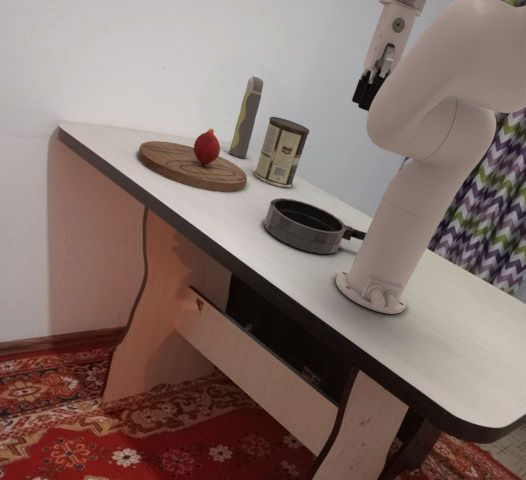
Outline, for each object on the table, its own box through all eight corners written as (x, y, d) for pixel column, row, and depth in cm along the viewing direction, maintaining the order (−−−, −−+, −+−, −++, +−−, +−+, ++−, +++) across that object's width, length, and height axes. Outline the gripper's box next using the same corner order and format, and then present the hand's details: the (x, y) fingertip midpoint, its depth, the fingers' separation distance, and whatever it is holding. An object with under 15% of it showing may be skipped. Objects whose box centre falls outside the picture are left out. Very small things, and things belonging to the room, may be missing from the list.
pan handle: (396, 255, 92) (401, 246, 91) (340, 237, 91) (344, 227, 90) (394, 251, 94) (398, 241, 93) (339, 233, 93) (343, 223, 92)
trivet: (117, 145, 105) (118, 136, 104) (204, 153, 122) (206, 146, 121) (178, 190, 92) (180, 180, 91) (265, 193, 109) (268, 185, 108)
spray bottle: (240, 153, 134) (260, 77, 123) (248, 159, 131) (269, 82, 120) (226, 151, 131) (245, 73, 120) (233, 157, 128) (253, 77, 117)
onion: (211, 171, 103) (219, 134, 99) (187, 162, 103) (194, 125, 99) (218, 167, 108) (226, 131, 103) (195, 158, 108) (202, 122, 103)
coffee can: (277, 174, 127) (293, 120, 120) (298, 189, 121) (317, 133, 113) (246, 170, 121) (262, 113, 113) (268, 185, 115) (286, 126, 107)
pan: (341, 263, 87) (350, 241, 84) (262, 238, 85) (269, 215, 82) (334, 234, 100) (342, 214, 97) (265, 212, 98) (271, 191, 95)
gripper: (436, 3, 72) (388, 119, 81) (412, 9, 86) (373, 107, 95) (392, -14, 71) (348, 105, 80) (374, -5, 85) (339, 95, 94)
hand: (362, 106), depth 88 cm, fingers open, 9 cm apart
